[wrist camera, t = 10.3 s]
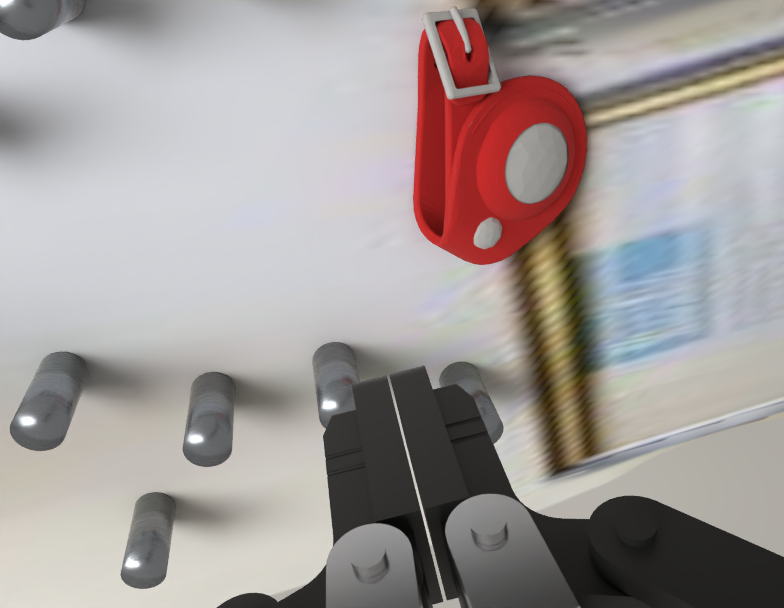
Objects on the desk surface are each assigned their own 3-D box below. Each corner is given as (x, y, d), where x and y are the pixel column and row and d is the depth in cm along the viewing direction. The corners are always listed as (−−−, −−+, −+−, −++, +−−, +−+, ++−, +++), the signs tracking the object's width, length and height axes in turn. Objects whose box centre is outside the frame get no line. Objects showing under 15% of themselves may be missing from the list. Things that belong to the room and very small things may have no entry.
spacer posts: (409, -118, 28) (437, -126, 23) (486, 437, 44) (511, 493, 39) (-168, 1, 26) (-251, 16, 22) (127, 529, 42) (112, 597, 38)
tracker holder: (633, 123, 34) (535, 298, 35) (571, 111, 37) (485, 270, 38) (469, -22, 27) (354, 205, 28) (412, -20, 30) (312, 181, 31)
